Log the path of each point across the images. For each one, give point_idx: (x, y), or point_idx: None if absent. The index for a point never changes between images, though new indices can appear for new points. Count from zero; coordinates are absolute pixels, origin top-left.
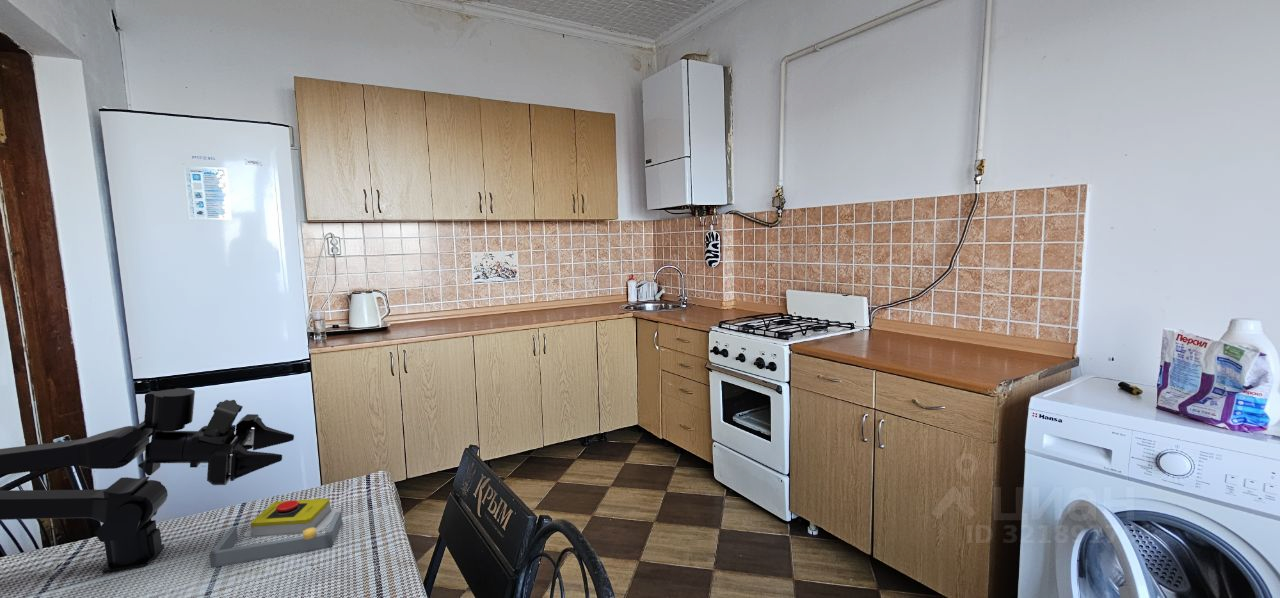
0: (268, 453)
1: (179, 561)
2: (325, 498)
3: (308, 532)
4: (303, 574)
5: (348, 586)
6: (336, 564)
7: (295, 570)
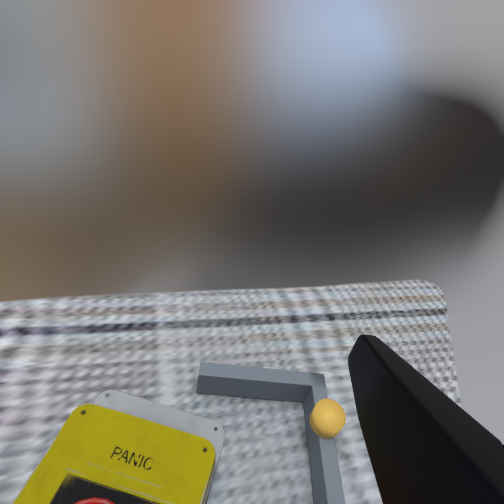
0: (423, 392)
1: None
2: (70, 415)
3: (342, 414)
4: None
5: (450, 349)
6: None
7: None
